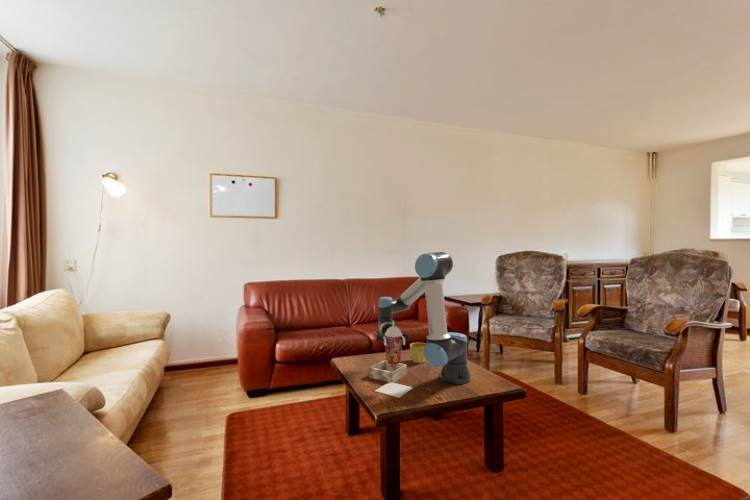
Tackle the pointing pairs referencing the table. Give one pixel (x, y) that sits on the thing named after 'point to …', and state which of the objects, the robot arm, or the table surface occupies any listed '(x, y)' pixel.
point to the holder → (387, 371)
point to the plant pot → (417, 352)
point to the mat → (394, 389)
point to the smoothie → (393, 345)
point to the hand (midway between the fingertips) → (394, 342)
